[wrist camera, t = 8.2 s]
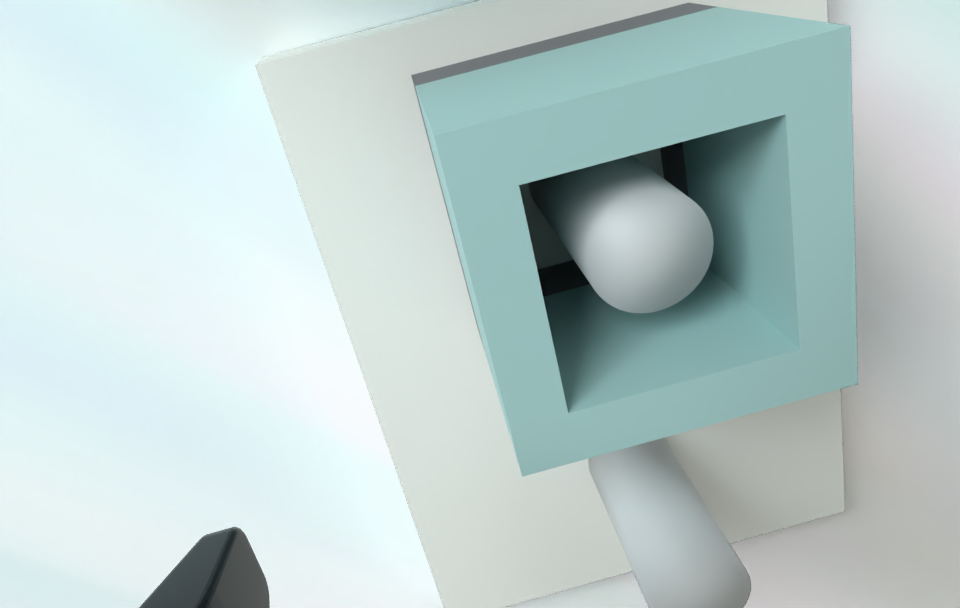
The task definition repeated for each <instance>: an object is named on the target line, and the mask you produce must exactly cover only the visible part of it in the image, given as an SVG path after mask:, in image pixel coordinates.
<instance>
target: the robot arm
mask: <svg viewBox="0 0 960 608" xmlns="http://www.w3.org/2000/svg"><path fill="white" fill-rule="evenodd" d="M139 608H269V590H268V585H267V582H266V578H265V576H264V574H263V572H262V569H261V567H260V565H259V563H258V561H257V559H256V556H255V554H254V552H253V550H252V548H251V546H250V543H249V541H248V539H247V537H246V535H245V534H244V532H243V531H242V530H241V529H239V528H237V527H232V528H228V529H225V530H221V531H218V532H214V533H210V534H207V535H205V536H203V537H202V538H201V539H200V540H199V541H198V542H197V543H196V545H195V546H194V547H193V548H192V549H191V550H190V551H189V552H188V554H187V555H186V556H185V557H184V558H183V559H182V560H181V561H180V562H179V564H178V565H177V566H176V567H175V568H174V569H173V570H172V571H171V573H170V574H169V575H168V576H167V577H166V578H165V579H164V580H163V582H162V583H161V584H160V585H159V586H158V587H157V588H156V589H155V591H154V592H153V593H152V594H151V595H150V596H149V597H148V598H147V600H146V601H145V602H144V603H143V604H142V605H141V606H140V607H139Z"/></svg>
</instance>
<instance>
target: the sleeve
mask: <svg viewBox="0 0 960 608" xmlns="http://www.w3.org/2000/svg"><path fill="white" fill-rule="evenodd" d="M411 77H412V81H413V84H414V88H415V92H416V96H417V100H418V103H419V107H420V111H421V115H422V119H423V122H424V126H425V130H426V134H427V138H428V141H429V145H430V149H431V153H432V157H433V161H434V164H435V168H436V172H437V176H438V180H439V183H440V187H441V191H442V195H443V199H444V202H445V206H446V210H447V214H448V218H449V221H450V225H451V229H452V233H453V237H454V240H455V244H456V248H457V252H458V256H459V260H460V263H461V267H462V271H463V275H464V279H465V282H466V286H467V290H468V294H469V298H470V301H471V305H472V309H473V313H474V317H475V320H476V324H477V328H478V331H479V334H480V338H481V341H482V344H483V348H484V351H485V354H486V358H487V361H488V364H489V368H490V371H491V374H492V378H493V381H494V384H495V388H496V391H497V394H498V398H499V401H500V404H501V408H502V411H503V414H504V418H505V421H506V424H507V428H508V431H509V434H510V438H511V441H512V444H513V448H514V451H515V454H516V458H517V461H518V464H519V468H520V471H521V474H522V477H523V476H527V475H530V474H534V473H538V472H541V471H545V470H548V469H552V468H556V467H559V466H563V465H567V464H570V463H574V462H577V461H581V460H585V459H588V458H592V457H596V456H599V455H603V454H606V453H610V452H614V451H617V450H621V449H625V448H628V447H632V446H635V445H639V444H643V443H646V442H650V441H654V440H657V439H661V438H664V437H668V436H672V435H675V434H679V433H683V432H686V431H690V430H693V429H697V428H701V427H704V426H708V425H712V424H715V423H719V422H722V421H726V420H730V419H733V418H737V417H741V416H744V415H748V414H751V413H755V412H759V411H762V410H766V409H770V408H773V407H777V406H780V405H784V404H788V403H791V402H795V401H799V400H802V399H806V398H809V397H813V396H817V395H820V394H824V393H828V392H831V391H835V390H838V389H842V388H846V387H849V386H853V385H857V384H858V365H857V318H856V271H855V224H854V178H853V131H852V84H851V37H850V26H849V25H842V24H835V23H828V22H821V21H814V20H807V19H800V18H793V17H786V16H779V15H772V14H765V13H758V12H751V11H744V10H737V9H730V8H723V7H716V6H709V5H702V4H695V3H685V4H681V5H677V6H673V7H670V8H666V9H662V10H658V11H654V12H650V13H647V14H643V15H639V16H635V17H631V18H627V19H624V20H620V21H616V22H612V23H608V24H605V25H601V26H597V27H593V28H589V29H585V30H582V31H578V32H574V33H570V34H566V35H562V36H559V37H555V38H551V39H547V40H543V41H540V42H536V43H532V44H528V45H524V46H520V47H517V48H513V49H509V50H505V51H501V52H497V53H494V54H490V55H486V56H482V57H478V58H474V59H471V60H467V61H463V62H459V63H455V64H452V65H448V66H444V67H440V68H436V69H432V70H429V71H425V72H421V73H417V74H413V75H411ZM657 148H660V151H661V159H662V167H663V174H664V179H665V180H666V181H668V182H669V183H670V184H672V185H673V186H674V187H676V188H677V189H678V190H680V191H681V192H682V193H684V194H685V195H686V196H688V197H689V198H690V199H692V200H693V201H695V202H696V203H697V204H698V205H699V206H700V207H701V208H702V210H703V211H704V212H705V214H706V216H707V217H708V219H709V221H710V224H711V227H712V232H713V241H714V246H713V254H712V258H711V262H710V265H709V267H708V270H707V272H706V274H705V276H704V277H703V279H702V280H701V282H700V283H699V284H698V285H697V287H696V288H695V289H694V290H693V291H692V292H691V293H690V294H689V295H688V296H687V297H685V298H684V299H683V300H681V301H680V302H678V303H676V304H675V305H673V306H671V307H668V308H666V309H663V310H660V311H656V312H652V313H630V312H625V311H622V310H619V309H617V308H615V307H612V306H611V305H609V304H608V303H606V302H605V301H604V300H603V299H602V298H601V297H600V296H599V295H598V294H597V293H596V291H595V290H594V289H593V287H592V286H591V284H590V283H589V281H588V280H587V278H586V277H585V275H584V274H583V272H582V271H581V270H580V268H579V267H578V265H577V264H576V262H575V261H574V260H571V261H567V262H563V263H560V264H556V265H552V266H549V267H545V268H541V269H537V266H536V262H535V257H534V252H533V248H532V243H531V238H530V234H529V229H528V225H527V220H526V215H525V211H524V206H523V201H522V197H521V192H520V188H519V185H522V184H526V183H530V182H533V181H537V180H541V179H545V178H548V177H552V176H556V175H560V174H563V173H567V172H571V171H575V170H578V169H582V168H586V167H590V166H593V165H597V164H601V163H605V162H608V161H612V160H616V159H620V158H624V157H627V156H631V155H635V154H639V153H642V152H646V151H650V150H654V149H657Z"/></svg>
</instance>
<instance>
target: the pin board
mask: <svg viewBox="0 0 960 608" xmlns="http://www.w3.org/2000/svg"><path fill="white" fill-rule="evenodd" d="M685 3H695V4H702V5H709V6H716V7H723V8H730V9H737V10H744V11H751V12H758V13H765V14H772V15H779V16H786V17H793V18H800V19H807V20H814V21H821V22H828V15H827V0H479V1H475V2H471V3H468V4H464V5H460V6H456V7H452V8H448V9H445V10H441V11H437V12H433V13H429V14H425V15H422V16H418V17H414V18H410V19H406V20H403V21H399V22H395V23H391V24H387V25H383V26H380V27H376V28H372V29H368V30H364V31H361V32H357V33H353V34H349V35H345V36H341V37H338V38H334V39H330V40H326V41H322V42H319V43H315V44H311V45H307V46H303V47H299V48H296V49H292V50H288V51H284V52H280V53H276V54H273V55H269V56H265V57H263V58H262V59H261V60H260V61H259V62H258V63H257V64H256V65H255V67H256V69H257V72H258V75H259V78H260V81H261V84H262V87H263V90H264V92H265V95H266V98H267V101H268V104H269V107H270V110H271V113H272V115H273V118H274V121H275V124H276V127H277V130H278V133H279V135H280V138H281V141H282V144H283V147H284V150H285V153H286V156H287V158H288V161H289V164H290V167H291V170H292V173H293V176H294V179H295V181H296V184H297V187H298V190H299V193H300V196H301V199H302V202H303V204H304V207H305V210H306V213H307V216H308V219H309V222H310V224H311V227H312V230H313V233H314V236H315V239H316V242H317V245H318V247H319V250H320V253H321V256H322V259H323V262H324V265H325V268H326V270H327V273H328V276H329V279H330V282H331V285H332V288H333V291H334V293H335V296H336V299H337V302H338V305H339V308H340V311H341V314H342V316H343V319H344V322H345V325H346V328H347V331H348V334H349V336H350V339H351V342H352V345H353V348H354V351H355V354H356V357H357V359H358V362H359V365H360V368H361V371H362V374H363V377H364V380H365V382H366V385H367V388H368V391H369V394H370V397H371V400H372V403H373V405H374V408H375V411H376V414H377V417H378V420H379V423H380V425H381V428H382V431H383V434H384V437H385V440H386V443H387V446H388V448H389V451H390V454H391V457H392V460H393V463H394V466H395V469H396V471H397V474H398V477H399V480H400V483H401V486H402V489H403V492H404V494H405V497H406V500H407V503H408V506H409V509H410V512H411V515H412V517H413V520H414V523H415V526H416V529H417V532H418V535H419V537H420V540H421V543H422V546H423V549H424V552H425V555H426V558H427V560H428V563H429V566H430V569H431V572H432V575H433V578H434V581H435V583H436V586H437V589H438V592H439V595H440V598H441V601H442V604H443V606H444V608H503V607H507V606H511V605H514V604H518V603H521V602H525V601H528V600H532V599H535V598H539V597H542V596H546V595H550V594H553V593H557V592H560V591H564V590H567V589H571V588H574V587H578V586H582V585H585V584H589V583H592V582H596V581H599V580H603V579H606V578H610V577H613V576H617V575H621V574H624V573H628V572H631V571H633V573H634V575H635V577H636V579H637V582H638V584H639V586H640V589H641V591H642V593H643V596H644V598H645V600H646V602H647V605H648V607H649V608H743V607H744V606H745V604H746V603H747V600H748V598H749V595H750V591H751V581H750V577H749V574H748V572H747V571H746V569H745V567H744V566H743V564H742V563H741V561H740V559H739V558H738V556H737V554H736V553H735V551H734V550H733V548H732V546H731V545H730V544H731V543H734V542H738V541H741V540H745V539H748V538H752V537H755V536H759V535H763V534H766V533H770V532H773V531H777V530H780V529H784V528H787V527H791V526H794V525H798V524H802V523H805V522H809V521H812V520H816V519H819V518H823V517H826V516H830V515H834V514H837V513H841V512H844V511H845V498H844V470H843V441H842V413H841V389H838V390H835V391H831V392H828V393H824V394H820V395H817V396H813V397H809V398H806V399H802V400H799V401H795V402H791V403H788V404H784V405H780V406H777V407H773V408H770V409H766V410H762V411H759V412H755V413H751V414H748V415H744V416H741V417H737V418H733V419H730V420H726V421H722V422H719V423H715V424H712V425H708V426H704V427H701V428H697V429H693V430H690V431H686V432H683V433H679V434H675V435H672V436H668V437H664V438H661V439H657V440H654V441H650V442H646V443H643V444H639V445H635V446H632V447H628V448H625V449H621V450H617V451H614V452H610V453H606V454H603V455H599V456H596V457H592V458H588V459H585V460H581V461H577V462H574V463H570V464H567V465H563V466H559V467H556V468H552V469H548V470H545V471H541V472H538V473H534V474H530V475H527V476H523V477H522V474H521V471H520V468H519V464H518V461H517V458H516V454H515V451H514V448H513V444H512V441H511V438H510V434H509V431H508V428H507V424H506V421H505V418H504V414H503V411H502V408H501V404H500V401H499V398H498V394H497V391H496V388H495V384H494V381H493V378H492V374H491V371H490V368H489V364H488V361H487V358H486V354H485V351H484V348H483V344H482V341H481V338H480V334H479V331H478V328H477V324H476V320H475V317H474V313H473V309H472V305H471V301H470V298H469V294H468V290H467V286H466V282H465V279H464V275H463V271H462V267H461V263H460V260H459V256H458V252H457V248H456V244H455V240H454V237H453V233H452V229H451V225H450V221H449V218H448V214H447V210H446V206H445V202H444V199H443V195H442V191H441V187H440V183H439V180H438V176H437V172H436V168H435V164H434V161H433V157H432V153H431V149H430V145H429V141H428V138H427V134H426V130H425V126H424V122H423V119H422V115H421V111H420V107H419V103H418V100H417V96H416V92H415V88H414V84H413V81H412V77H411V75H413V74H417V73H421V72H425V71H429V70H432V69H436V68H440V67H444V66H448V65H452V64H455V63H459V62H463V61H467V60H471V59H474V58H478V57H482V56H486V55H490V54H494V53H497V52H501V51H505V50H509V49H513V48H517V47H520V46H524V45H528V44H532V43H536V42H540V41H543V40H547V39H551V38H555V37H559V36H562V35H566V34H570V33H574V32H578V31H582V30H585V29H589V28H593V27H597V26H601V25H605V24H608V23H612V22H616V21H620V20H624V19H627V18H631V17H635V16H639V15H643V14H647V13H650V12H654V11H658V10H662V9H666V8H670V7H673V6H677V5H681V4H685ZM519 188H520V192H521V197H522V201H523V206H524V211H525V215H526V220H527V225H528V229H529V234H530V238H531V243H532V248H533V252H534V257H535V262H536V266H537V269H541V268H545V267H549V266H552V265H556V264H560V263H563V262H567V261H571V260H574V261H575V262H576V264H577V265H578V267H579V268H580V270H581V271H582V272H583V274H584V275H585V277H586V278H587V280H588V281H589V283H590V284H591V286H592V287H593V289H594V290H595V291H596V293H597V294H598V295H599V296H600V297H601V298H602V299H603V300H604V301H605V302H606V303H608V304H609V305H611V306H612V307H615V308H617V309H619V310H622V311H625V312H630V313H652V312H656V311H660V310H663V309H666V308H668V307H671V306H673V305H675V304H676V303H678V302H680V301H681V300H683V299H684V298H685V297H687V296H688V295H689V294H690V293H691V292H692V291H693V290H694V289H695V288H696V287H697V285H698V284H699V283H700V282H701V280H702V279H703V277H704V276H705V274H706V272H707V270H708V267H709V265H710V262H711V258H712V254H713V246H714V241H713V232H712V227H711V224H710V221H709V219H708V217H707V216H706V214H705V212H704V211H703V210H702V208H701V207H700V206H699V205H698V204H697V203H696V202H695V201H693V200H692V199H690V198H689V197H688V196H686V195H685V194H684V193H682V192H681V191H680V190H678V189H677V188H676V187H674V186H673V185H672V184H670V183H669V182H668V181H666V180H665V179H664V174H663V167H662V159H661V151H660V148H657V149H654V150H650V151H646V152H642V153H639V154H635V155H631V156H627V157H624V158H620V159H616V160H612V161H608V162H605V163H601V164H597V165H593V166H590V167H586V168H582V169H578V170H575V171H571V172H567V173H563V174H560V175H556V176H552V177H548V178H545V179H541V180H537V181H533V182H530V183H526V184H522V185H519Z"/></svg>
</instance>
